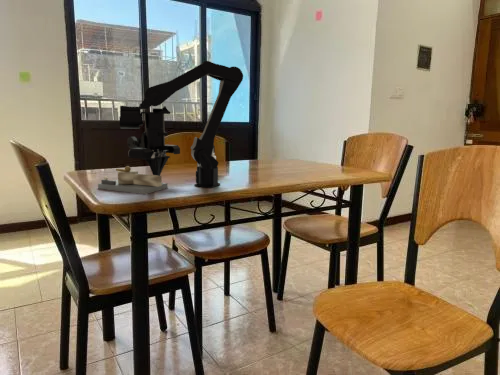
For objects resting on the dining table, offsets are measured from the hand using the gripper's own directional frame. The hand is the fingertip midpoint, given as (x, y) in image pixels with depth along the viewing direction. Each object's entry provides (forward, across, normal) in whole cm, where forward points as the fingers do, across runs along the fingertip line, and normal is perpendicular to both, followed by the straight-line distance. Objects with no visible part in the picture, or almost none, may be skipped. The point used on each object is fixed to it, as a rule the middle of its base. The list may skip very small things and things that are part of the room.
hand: (156, 178), depth 121 cm
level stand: (+3, +5, -5) cm, 8 cm away
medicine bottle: (+3, -30, 0) cm, 31 cm away
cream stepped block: (+1, +6, -3) cm, 6 cm away
